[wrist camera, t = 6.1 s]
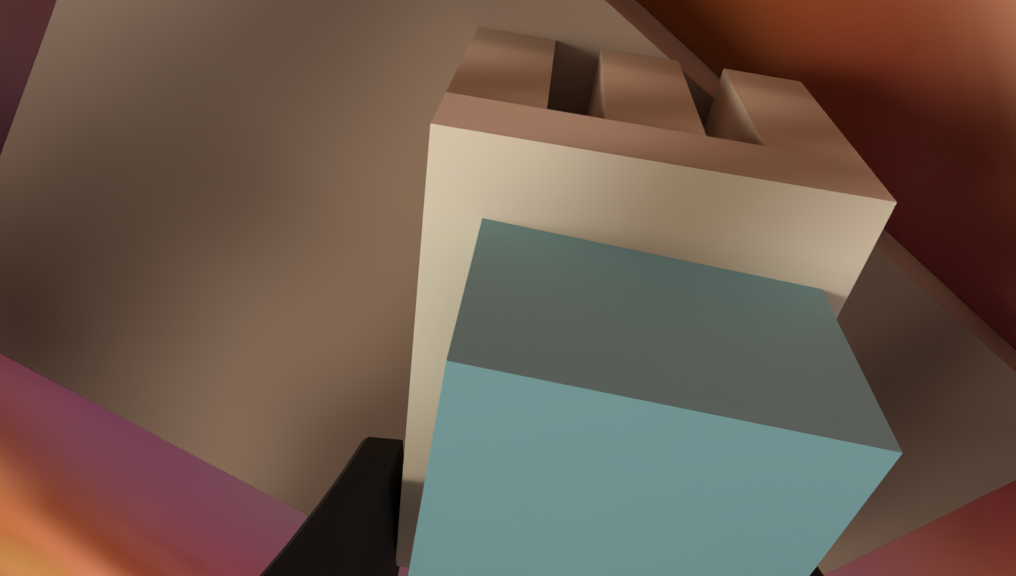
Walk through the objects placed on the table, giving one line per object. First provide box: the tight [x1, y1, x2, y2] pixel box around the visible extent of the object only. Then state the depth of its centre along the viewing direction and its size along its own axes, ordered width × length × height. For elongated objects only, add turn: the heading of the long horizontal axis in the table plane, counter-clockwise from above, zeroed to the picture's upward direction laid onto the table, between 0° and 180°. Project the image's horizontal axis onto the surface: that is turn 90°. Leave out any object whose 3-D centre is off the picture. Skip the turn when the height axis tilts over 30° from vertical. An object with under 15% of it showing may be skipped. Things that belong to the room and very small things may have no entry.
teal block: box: [408, 218, 902, 576], centre depth 8 cm, size 4×5×2 cm
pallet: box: [396, 27, 897, 568], centre depth 11 cm, size 5×8×4 cm, turn 172°
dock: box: [0, 0, 1016, 575], centre depth 16 cm, size 20×14×2 cm
